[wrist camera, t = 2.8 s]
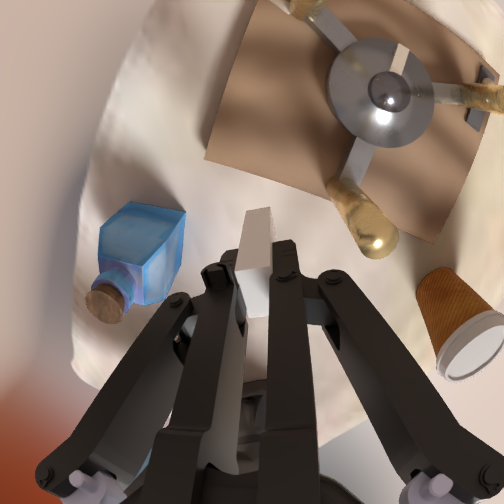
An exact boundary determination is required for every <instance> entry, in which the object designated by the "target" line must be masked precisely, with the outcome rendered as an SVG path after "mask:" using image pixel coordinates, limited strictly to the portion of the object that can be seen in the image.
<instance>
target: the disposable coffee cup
mask: <svg viewBox="0 0 504 504" xmlns="http://www.w3.org/2000/svg"><path fill="white" fill-rule="evenodd" d="M416 299H417V302H418V305H419V308H420V310H421V313H422V316H423V318H424V321H425V324H426V327H427V330H428V333H429V336H430V339H431V342H432V345H433V348H434V352H435V355H436V358H437V359H436V363H437V366H436V369H437V372H438V374H439V375H440V376H443V377H444V378H445V380H447V381H448V382H451V383H457V382H461V381H464V380H466V379H469V378H471V377H472V376H474V375H476V374H478V373H479V372H481V371H482V370H483V369H484V368H486V367H487V366H488V365H489V364H490V363H491V362H492V361H493V360H494V359H495V358H496V357H497V356H498V354H499V353H500V352H501V351H502V349H503V347H504V315H503V314H502V313H500V312H498V311H495V310H494V309H493V308H492V307H491V306H490V305H489V304H488V303H487V302H486V301H484V299H482V298H481V297H480V295H478V294H477V293H476V292H475V291H474V290H473V289H472V288H471V287H470V286H469V285H467V283H465V282H464V281H463V280H462V279H461V278H460V277H459V276H458V275H456V274H455V273H454V272H453V271H452V270H451V269H449V268H439V269H436V270H434V271H433V272H431V273H430V274H428V275H427V276H426V277H425V278H424V279H423V280H422V282H421V283H420V285H419V287H418V289H417V293H416Z"/></svg>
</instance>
